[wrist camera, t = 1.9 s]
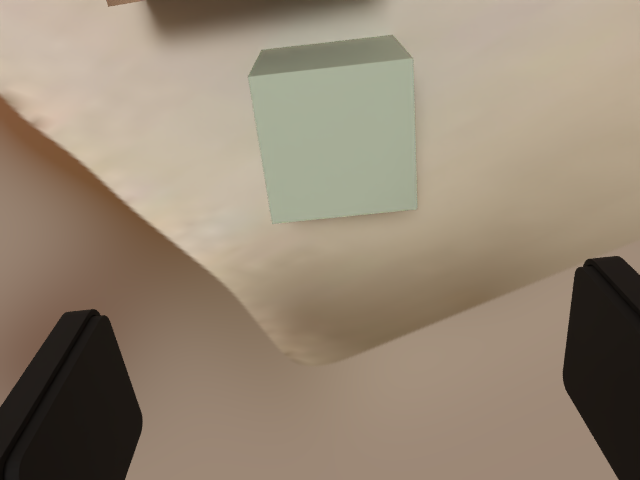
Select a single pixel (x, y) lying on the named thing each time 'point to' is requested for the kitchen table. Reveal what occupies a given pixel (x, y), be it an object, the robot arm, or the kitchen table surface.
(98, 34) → the kitchen table surface
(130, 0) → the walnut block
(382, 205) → the green cube
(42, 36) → the kitchen table surface
